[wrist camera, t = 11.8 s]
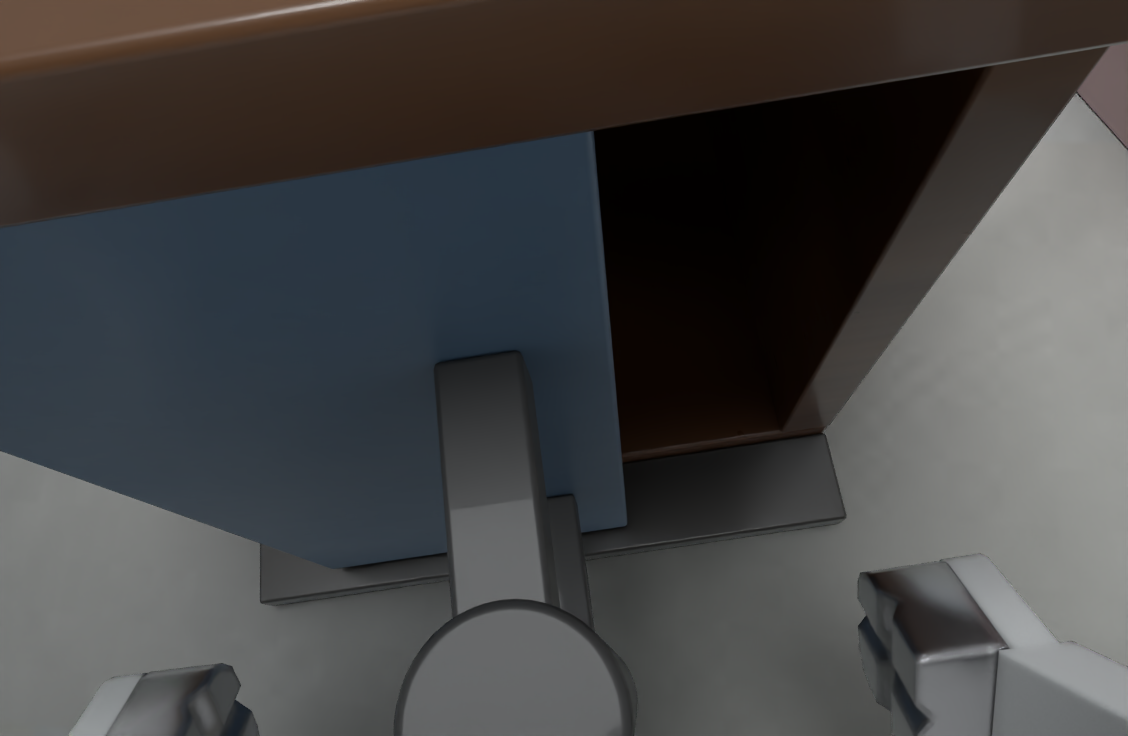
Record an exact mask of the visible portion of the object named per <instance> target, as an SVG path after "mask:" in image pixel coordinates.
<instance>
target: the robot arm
mask: <svg viewBox="0 0 1128 736" xmlns="http://www.w3.org/2000/svg"><path fill="white" fill-rule="evenodd" d="M858 600H859V602H860V604H861V606H862V608H863V609H864V611H865V613H866V616H865V617H864V619H863V620H862V621H861V623H860V624H859V625H858V640H859V650H860V655H861V660H862V665H863V670H864V673H865V676H866V678H867V681H868V684H869V687H870V689H871V691H872V693H873V695H874V697H875V699H876V702H877V703H878V704H880V705H882V706H883V707H885V708H886V709H888V710H889V711H891V732H892V734H893V736H1128V667H1127V666H1124V665H1122V664H1120V663H1118V662H1116V661H1114V660H1112V659H1110V658H1107V657H1105V656H1103V655H1101V654H1099V653H1097V652H1095V651H1093V650H1090V649H1088V648H1086V647H1084V646H1082V645H1080V644H1078V643H1076V642H1073V641H1067V642H1059V641H1058V640H1057V639H1056V638H1055V636H1054V635H1053V634H1052V633H1051V632H1050V630H1049V629H1048V628H1047V627H1046V626H1045V624H1044V623H1043V622H1042V621H1041V620H1040V619H1039V617H1038V616H1037V615H1036V614H1035V613H1034V611H1033V610H1032V609H1031V608H1030V607H1029V605H1028V604H1027V603H1026V602H1025V601H1024V599H1023V598H1022V597H1021V596H1020V595H1019V593H1018V592H1017V591H1016V590H1015V589H1014V587H1013V586H1012V585H1011V584H1010V583H1009V581H1008V580H1007V579H1006V578H1005V577H1004V575H1003V574H1002V573H1001V572H1000V571H999V569H998V568H997V567H996V566H995V565H994V563H993V562H992V561H991V560H990V559H989V557H987V556H985V555H983V554H981V553H978V554H972V555H966V556H960V557H953V558H947V559H941V560H940V561H934V562H927V563H921V564H914V565H907V566H901V567H894V568H887V569H880V570H874V571H867V572H860V575H859V579H858ZM240 687H241V684H240V682H239V680H238V678H237V676H236V674H235V671H234V669H233V667H232V666H230V665H226V664H223V663H221V664H212V665H204V666H195V667H187V668H178V669H170V670H162V671H153V672H149V673H142V674H134V675H125V676H117V677H112V678H111V679H109V680H108V681H106V682H104V683H103V684H102V685H101V686H100V687H99V689H98V690H97V692H96V694H95V695H94V697H93V698H92V700H91V701H90V703H89V704H88V706H87V707H86V709H85V710H84V712H83V713H82V715H81V716H80V718H79V720H78V721H77V723H76V724H75V726H74V727H73V729H72V730H71V732H70V733H69V735H68V736H259V731H258V725H257V723H256V720H255V718H254V715H253V713H252V711H251V710H250V709H248V708H247V707H245V706H244V705H242V704H241V703H239V702H238V701H236V700H235V699H236V696H237V694H238V692H239V689H240Z"/></svg>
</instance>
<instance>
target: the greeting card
mask: <svg viewBox="0 0 1128 736" xmlns="http://www.w3.org/2000/svg"><path fill="white" fill-rule="evenodd" d="M1077 92H1078V93H1079V94H1080V96H1081V97H1082V98H1083V99H1084V100H1085V101H1086V102H1087V103H1088V104H1089V106H1090V107H1091V108H1092V109H1093V110H1094V111H1095V112H1096V113H1097V114H1098V116H1099V117H1100V118H1101V119H1102V120H1103V121H1104V122H1105V123H1106V125H1107V126H1108V127H1109V128H1110V129H1111V130H1112V131H1113V132H1114V133H1115V135H1116V136H1117V137H1118V138H1119V139H1120V140H1121V141H1122V142H1123V143H1124V145H1125V146H1126V147H1127V148H1128V43H1127V44H1120V45H1114V46H1110V47H1109V49H1108V50H1107V51H1106V53H1105V54H1104V55H1103V57H1102V58H1101V60H1100V61H1099V62H1098V64H1097V65H1096V66H1095V68H1094V69H1093V70H1092V72H1091V73H1090V74H1089V76H1088V77H1087V78H1086V80H1085V81H1084V82H1083V84H1082V85H1081V86H1080V88H1079V89H1078V91H1077Z"/></svg>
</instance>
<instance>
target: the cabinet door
mask: <svg viewBox="0 0 1128 736" xmlns="http://www.w3.org/2000/svg"><path fill="white" fill-rule="evenodd" d="M0 451H2V452H5V453H8V454H11V455H14V456H16V457H19V458H22V459H25V460H28V461H30V462H33V463H36V464H39V465H42V466H44V467H47V468H50V469H53V470H56V471H59V472H61V473H64V474H67V475H70V476H73V477H75V478H78V479H81V480H84V481H87V482H89V483H92V484H95V485H98V486H101V487H103V488H106V489H109V490H112V491H115V492H117V493H120V494H123V495H126V496H129V497H132V498H134V499H137V500H140V501H143V502H146V503H148V504H151V505H154V506H157V507H160V508H162V509H165V510H168V511H171V512H174V513H176V514H179V515H182V516H185V517H188V518H190V519H193V520H196V521H199V522H202V523H205V524H207V525H210V526H213V527H216V528H219V529H221V530H224V531H227V532H230V533H233V534H235V535H238V536H241V537H244V538H247V539H249V540H252V541H255V542H258V543H261V544H264V545H266V546H269V547H272V548H275V549H278V550H280V551H283V552H286V553H289V554H292V555H294V556H297V557H300V558H303V559H306V560H308V561H311V562H314V563H317V564H320V565H322V566H325V567H328V568H331V569H337V568H344V567H351V566H358V565H364V564H371V563H378V562H385V561H392V560H398V559H405V558H412V557H419V556H426V555H433V554H439V553H446V552H448V565H449V578H450V591H451V604H452V617H453V619H451V620H450V621H448V622H447V623H446V624H444V625H443V626H442V627H441V628H440V629H439V630H438V631H436V632H435V633H434V634H433V635H432V636H431V638H430V639H429V640H428V641H427V642H426V643H425V644H424V646H423V647H422V648H421V650H420V651H419V653H418V654H417V656H416V657H415V659H414V660H413V662H412V664H411V666H410V668H409V670H408V672H407V674H406V676H405V678H404V681H403V684H402V686H401V689H400V693H399V697H398V701H397V705H396V711H395V719H394V736H634V733H635V725H636V717H637V704H638V700H637V691H636V687H635V683H634V680H633V677H632V675H631V673H630V671H629V669H628V668H627V666H626V664H625V663H624V662H623V661H622V659H621V658H620V657H619V656H618V655H617V654H616V653H615V652H614V651H613V650H612V649H611V648H610V647H609V646H608V645H607V644H606V643H605V642H604V641H603V640H602V639H601V638H600V637H599V635H598V634H597V633H595V628H594V621H593V614H592V606H591V599H590V592H589V585H588V577H587V570H586V563H585V556H584V548H583V541H582V534H581V533H583V532H589V531H596V530H603V529H610V528H617V527H623V526H626V525H627V523H628V522H627V511H626V499H625V488H624V476H623V465H622V453H621V442H620V430H619V418H618V407H617V395H616V384H615V372H614V361H613V349H612V338H611V326H610V315H609V303H608V291H607V280H606V268H605V257H604V245H603V234H602V222H601V211H600V199H599V188H598V176H597V164H596V153H595V141H594V131H590V132H584V133H578V134H572V135H566V136H560V137H554V138H548V139H542V140H535V141H529V142H523V143H517V144H511V145H505V146H499V147H493V148H487V149H481V150H475V151H468V152H462V153H456V154H450V155H444V156H438V157H432V158H426V159H420V160H414V161H408V162H401V163H395V164H389V165H383V166H377V167H371V168H365V169H359V170H353V171H347V172H340V173H334V174H328V175H322V176H316V177H310V178H304V179H298V180H292V181H286V182H280V183H273V184H267V185H261V186H255V187H249V188H243V189H237V190H231V191H225V192H219V193H213V194H206V195H200V196H194V197H188V198H182V199H176V200H170V201H164V202H158V203H152V204H145V205H139V206H133V207H127V208H121V209H115V210H109V211H103V212H97V213H91V214H85V215H78V216H72V217H66V218H60V219H54V220H48V221H42V222H36V223H30V224H24V225H18V226H11V227H5V228H0Z"/></svg>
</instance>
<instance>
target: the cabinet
mask: <svg viewBox="0 0 1128 736" xmlns="http://www.w3.org/2000/svg"><path fill="white" fill-rule="evenodd" d="M1127 43H1128V0H0V228H5V227H11V226H18V225H24V224H30V223H36V222H42V221H48V220H54V219H60V218H66V217H72V216H78V215H85V214H91V213H97V212H103V211H109V210H115V209H121V208H127V207H133V206H139V205H145V204H152V203H158V202H164V201H170V200H176V199H182V198H188V197H194V196H200V195H206V194H213V193H219V192H225V191H231V190H237V189H243V188H249V187H255V186H261V185H267V184H273V183H280V182H286V181H292V180H298V179H304V178H310V177H316V176H322V175H328V174H334V173H340V172H347V171H353V170H359V169H365V168H371V167H377V166H383V165H389V164H395V163H401V162H408V161H414V160H420V159H426V158H432V157H438V156H444V155H450V154H456V153H462V152H468V151H475V150H481V149H487V148H493V147H499V146H505V145H511V144H517V143H523V142H529V141H535V140H542V139H548V138H554V137H560V136H566V135H572V134H578V133H584V132H590V131H594V141H595V153H596V164H597V176H598V188H599V199H600V211H601V222H602V234H603V245H604V257H605V268H606V280H607V291H608V303H609V315H610V326H611V338H612V349H613V361H614V372H615V384H616V395H617V407H618V418H619V430H620V442H621V453H622V465H623V476H624V488H625V499H626V511H627V522H628V523H627V525H626V526H623V527H617V528H610V529H603V530H596V531H589V532H583V533H581V534H582V541H583V548H584V556H585V560H591V559H597V558H604V557H611V556H618V555H625V554H632V553H639V552H646V551H652V550H659V549H666V548H673V547H680V546H687V545H694V544H700V543H707V542H714V541H721V540H728V539H735V538H742V537H749V536H755V535H762V534H769V533H776V532H783V531H790V530H797V529H804V528H810V527H817V526H824V525H831V524H838V523H840V522H842V521H843V520H844V519H845V518H846V512H845V508H844V504H843V500H842V496H841V492H840V488H839V485H838V481H837V477H836V473H835V469H834V465H833V461H832V457H831V453H830V450H829V446H828V442H827V438H826V435H825V434H823V432H824V430H825V429H826V428H827V426H828V425H830V424H831V422H832V421H833V419H834V418H835V417H836V415H837V414H838V413H839V411H840V410H841V409H842V407H843V406H844V405H845V403H846V402H847V401H848V399H849V398H850V397H851V395H852V394H853V393H854V391H855V390H856V388H857V387H858V386H859V384H860V383H861V382H862V380H863V379H864V378H865V376H866V375H867V374H868V372H869V371H870V370H871V368H872V367H873V366H874V364H875V363H876V362H877V360H878V359H879V357H880V356H881V355H882V353H883V352H884V351H885V349H886V348H887V347H888V345H889V344H890V343H891V341H892V340H893V339H894V337H895V336H896V335H897V333H898V332H899V331H900V329H901V328H902V326H903V325H904V324H905V322H906V321H907V320H908V318H909V317H910V316H911V314H912V313H913V312H914V310H915V309H916V308H917V306H918V305H919V304H920V302H921V301H922V300H923V298H924V297H925V295H926V294H927V293H928V291H929V290H930V289H931V287H932V286H933V285H934V283H935V282H936V281H937V279H938V278H939V277H940V275H941V274H942V273H943V271H944V270H945V268H946V267H947V266H948V264H949V263H950V262H951V260H952V259H953V258H954V256H955V255H956V254H957V252H958V251H959V250H960V248H961V247H962V246H963V244H964V243H965V242H966V240H967V239H968V237H969V236H970V235H971V233H972V232H973V231H974V229H975V228H976V227H977V225H978V224H979V223H980V221H981V220H982V219H983V217H984V216H985V215H986V213H987V212H988V211H989V209H990V208H991V206H992V205H993V204H994V202H995V201H996V200H997V198H998V197H999V196H1000V194H1001V193H1002V192H1003V190H1004V189H1005V188H1006V186H1007V185H1008V184H1009V182H1010V181H1011V180H1012V178H1013V177H1014V175H1015V174H1016V173H1017V171H1018V170H1019V169H1020V167H1021V166H1022V165H1023V163H1024V162H1025V161H1026V159H1027V158H1028V157H1029V155H1030V154H1031V153H1032V151H1033V150H1034V149H1035V147H1036V146H1037V144H1038V143H1039V142H1040V140H1041V139H1042V138H1043V136H1044V135H1045V134H1046V132H1047V131H1048V130H1049V128H1050V127H1051V126H1052V124H1053V123H1054V122H1055V120H1056V119H1057V117H1058V116H1059V115H1060V113H1061V112H1062V111H1063V109H1064V108H1065V107H1066V105H1067V104H1068V103H1069V101H1070V100H1071V99H1072V97H1073V96H1074V95H1075V93H1076V92H1077V91H1078V89H1079V88H1080V86H1081V85H1082V84H1083V82H1084V81H1085V80H1086V78H1087V77H1088V76H1089V74H1090V73H1091V72H1092V70H1093V69H1094V68H1095V66H1096V65H1097V64H1098V62H1099V61H1100V60H1101V58H1102V57H1103V55H1104V54H1105V53H1106V51H1107V50H1108V49H1109V47H1110V46H1114V45H1120V44H1127ZM446 580H450V578H449V565H448V552H446V553H439V554H433V555H426V556H419V557H412V558H405V559H398V560H392V561H385V562H378V563H371V564H364V565H358V566H351V567H344V568H337V569H331V568H328V567H325V566H322V565H320V564H317V563H314V562H311V561H308V560H306V559H303V558H300V557H297V556H294V555H292V554H289V553H286V552H283V551H280V550H278V549H275V548H272V547H269V546H266V545H264V544H261V543H260V602H261V603H262V604H267V605H272V606H274V605H281V604H288V603H295V602H302V601H309V600H316V599H322V598H329V597H336V596H343V595H350V594H357V593H364V592H371V591H377V590H384V589H391V588H398V587H405V586H412V585H419V584H426V583H432V582H439V581H446Z"/></svg>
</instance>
